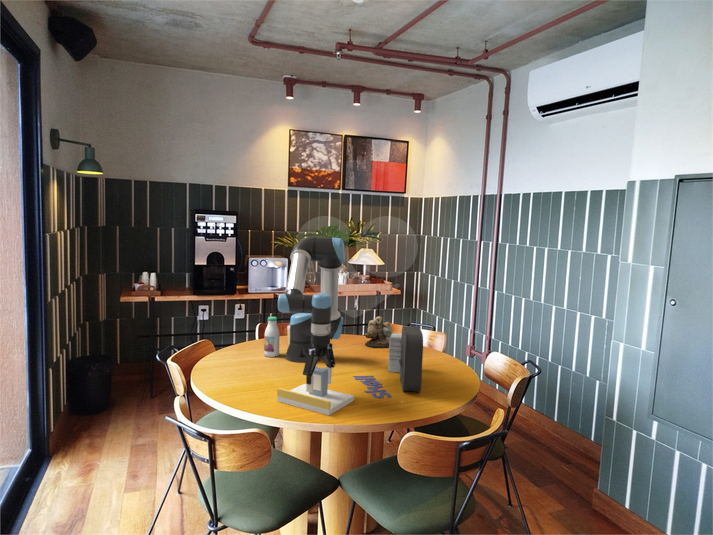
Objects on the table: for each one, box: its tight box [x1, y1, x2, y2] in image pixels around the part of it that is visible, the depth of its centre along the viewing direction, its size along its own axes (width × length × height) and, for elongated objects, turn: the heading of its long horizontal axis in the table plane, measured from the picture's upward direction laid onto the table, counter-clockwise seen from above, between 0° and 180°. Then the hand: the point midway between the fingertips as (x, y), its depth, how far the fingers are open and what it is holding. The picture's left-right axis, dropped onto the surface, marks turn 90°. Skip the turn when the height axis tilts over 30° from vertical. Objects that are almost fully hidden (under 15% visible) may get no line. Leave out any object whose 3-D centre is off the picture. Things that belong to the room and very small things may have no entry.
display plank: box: [276, 383, 355, 416], centre depth 190 cm, size 24×18×5 cm
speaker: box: [399, 325, 424, 393], centre depth 211 cm, size 25×9×25 cm, turn 178°
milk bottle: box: [263, 316, 281, 358], centre depth 250 cm, size 8×8×20 cm
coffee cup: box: [286, 324, 290, 348], centre depth 267 cm, size 9×9×12 cm
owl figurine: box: [364, 316, 394, 349], centre depth 278 cm, size 18×12×17 cm, turn 107°
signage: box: [352, 375, 392, 399], centre depth 209 cm, size 28×1×10 cm
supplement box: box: [387, 332, 402, 373], centre depth 234 cm, size 10×9×17 cm
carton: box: [309, 366, 329, 397], centre depth 191 cm, size 6×4×10 cm
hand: (319, 387), depth 191 cm, fingers open, 12 cm apart
